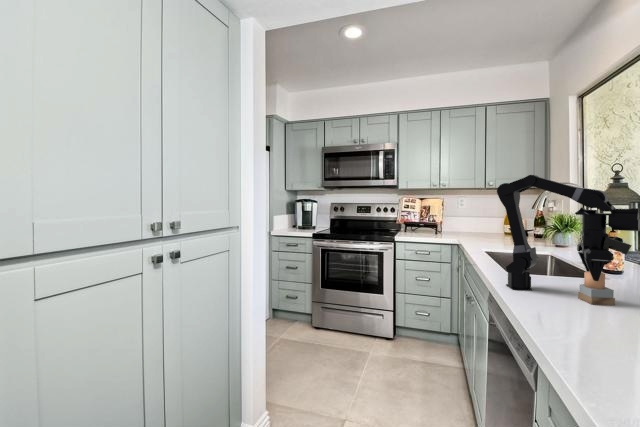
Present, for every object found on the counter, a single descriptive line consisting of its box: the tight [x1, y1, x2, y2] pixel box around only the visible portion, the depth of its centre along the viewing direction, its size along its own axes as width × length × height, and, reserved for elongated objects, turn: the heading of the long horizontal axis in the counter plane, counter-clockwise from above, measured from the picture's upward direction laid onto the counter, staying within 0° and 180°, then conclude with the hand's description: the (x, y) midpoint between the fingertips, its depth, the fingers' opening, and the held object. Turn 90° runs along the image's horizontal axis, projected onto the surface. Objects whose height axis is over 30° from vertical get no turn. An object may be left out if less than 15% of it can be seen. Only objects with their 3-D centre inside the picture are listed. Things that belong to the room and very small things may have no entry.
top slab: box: [579, 283, 615, 298], centre depth 102 cm, size 6×6×2 cm
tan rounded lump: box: [583, 271, 606, 289], centre depth 102 cm, size 5×5×4 cm
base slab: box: [577, 291, 616, 306], centre depth 102 cm, size 6×6×2 cm
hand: (593, 277), depth 102 cm, fingers open, 9 cm apart
